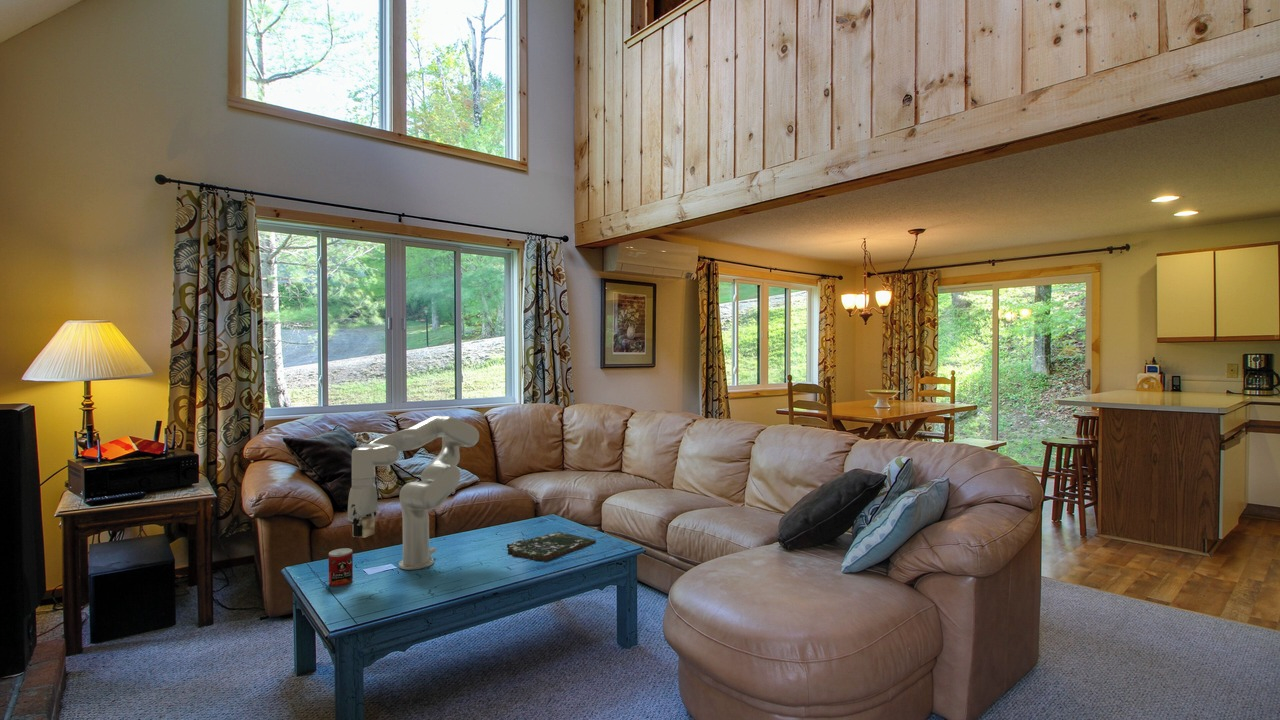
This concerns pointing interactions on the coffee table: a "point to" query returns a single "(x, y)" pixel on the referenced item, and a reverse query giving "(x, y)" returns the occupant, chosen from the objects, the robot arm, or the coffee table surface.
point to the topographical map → (548, 546)
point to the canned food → (340, 567)
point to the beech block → (367, 526)
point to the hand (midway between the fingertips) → (363, 533)
